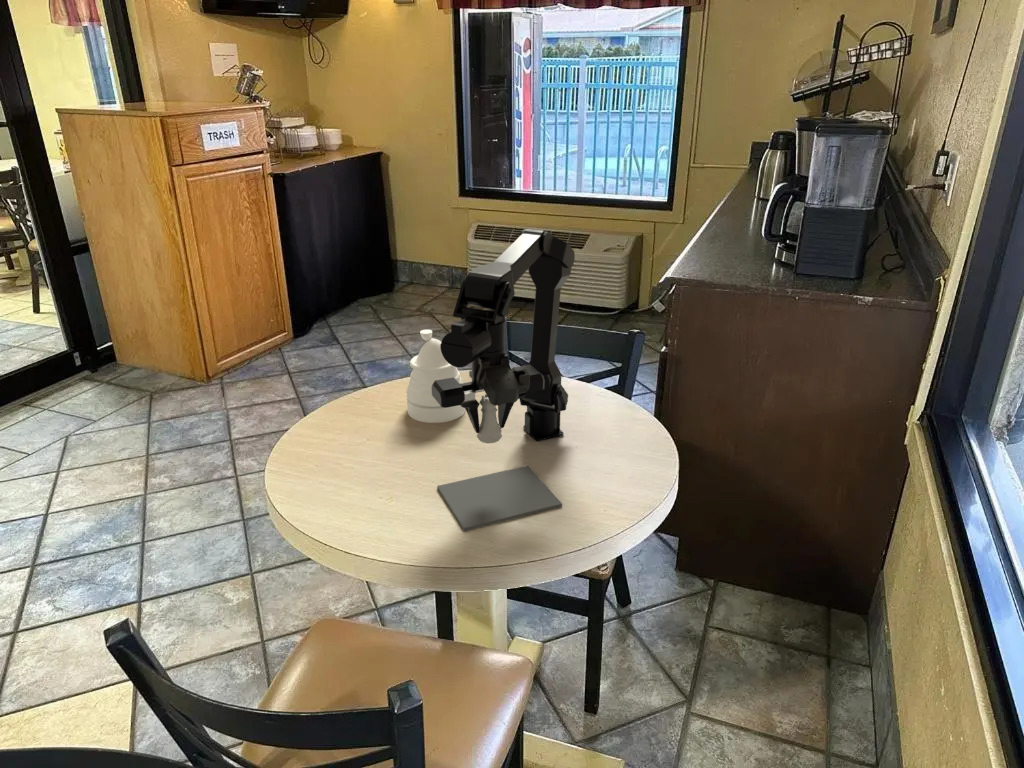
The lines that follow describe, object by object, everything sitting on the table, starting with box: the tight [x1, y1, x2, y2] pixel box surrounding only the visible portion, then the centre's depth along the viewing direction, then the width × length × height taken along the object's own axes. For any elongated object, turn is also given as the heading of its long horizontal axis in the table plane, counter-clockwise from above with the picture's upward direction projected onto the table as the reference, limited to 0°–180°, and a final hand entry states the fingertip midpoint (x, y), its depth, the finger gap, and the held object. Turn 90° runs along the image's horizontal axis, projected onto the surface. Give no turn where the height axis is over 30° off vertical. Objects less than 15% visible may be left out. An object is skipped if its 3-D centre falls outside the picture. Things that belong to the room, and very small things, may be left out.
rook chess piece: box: [476, 393, 503, 444], centre depth 124 cm, size 4×4×8 cm
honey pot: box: [406, 329, 467, 424], centre depth 155 cm, size 13×13×18 cm
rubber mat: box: [437, 465, 563, 532], centre depth 126 cm, size 18×14×1 cm
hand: (489, 429), depth 125 cm, fingers closed on rook chess piece, 4 cm apart
